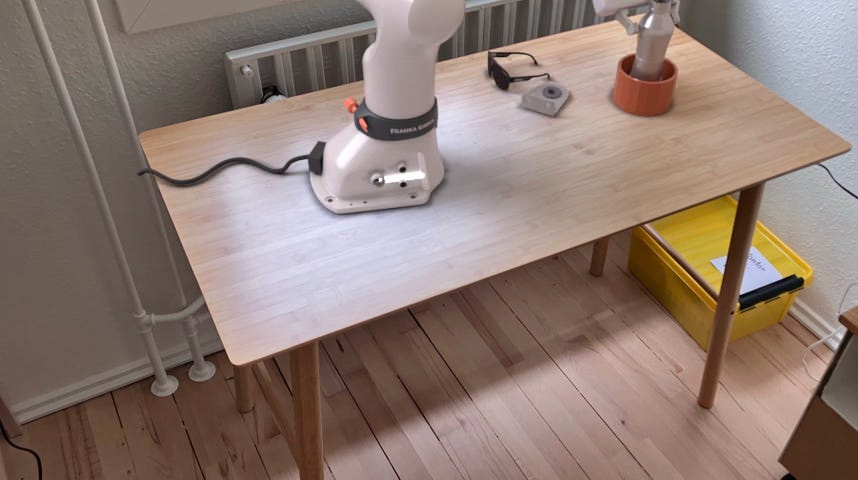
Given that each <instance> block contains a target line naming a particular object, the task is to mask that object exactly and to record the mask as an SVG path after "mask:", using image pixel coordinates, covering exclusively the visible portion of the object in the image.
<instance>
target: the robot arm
mask: <svg viewBox="0 0 858 480" xmlns="http://www.w3.org/2000/svg"><path fill="white" fill-rule="evenodd" d="M355 1H356V3H358V4H360V5H361V7H363V8H364V9H366V10H367V11H368V12H369V13H370V14H371V16H372V17H373V20H374V22H375V26H376V35H375V36H376V37H375V40H374V42H373V43H372V44H370V46H368V47H367V48H366V50H365V51H364V53H363V56H362V59H361V63H362V72H363V74H362V76H363V77H362V78H363V87H364V88H363V89H364V91H363V92H364V96H363V98H362V101H361V102H360V104H359V103H358V101H357V99H356V98H354V97H347V98H346V99H345V101H344V102H343V105H344V108H346V110H347V113H349V114H352V115H353V120H352V121H351V122H350V123H348V124H347V125H346V126H345V127H343V128H342V129H341V130H340V131H338V132H337V133H336V134H335V135H333V136H332V137H330V138H329V139H328V140H327V142H326V141H321V140H317V142H316V144H315V145H314V147H313V148H312V149H311V151H310V152H309V153H307V154H301V155H297V156H294V157H292V158H290V159H288V160H287V161H286V163H285V164H284V165H283V166H282V167H280V168H271V167H268V166H266V165H264V164H262V163H260V162H258V161H256V160H255V159H252V158H249V157H244V156H238V157H237V156H236V157H230V158H227V159H224V160H222V161H220V162H218V163H216V164H214V165H213V166H212V167H210V168H209V169H207V170H206V171H204V172H202V173H201V174H198V175H197V176H195V177H192V178H188V179H175V178H172V177H169V176H167V175H165V174H163V173H161V172H159V171H158V170H156V169H154V168H149V167H147V168H143V169H140V170H139V171H138V172H137V173H136V176H138V177H140V176H143V175H145V174H151V175H154V176H155V177H157V178H159V179H161V180H163V181H165V182H166V183H167V182H168V183H170V184H173V185H177V186H183V185H184V186H185V185H191V184H194V183H197V182H199V181H202V180H203V179H206V178H207V177H209V176H210V175H211V174H213V173H214V172H216V171H217V170H219V169H220V168H222V167H224V166H226V165H229V164H232V163H247V164H249V165H253V166H255V167H256V168H258V169H260V170H262V171H264V172H267V173H270V174H276V175H277V174H283V173H285V172H286V171H287V170H288V169H289V168H290V167H291V165H293V164H294V163H296V162H299V161H303V160H305V161H306V160H307V164H308V172H309V176H310V177H309V179H310V185H311V188H312V191H313V192H314V195H315V196H316V199H318V201H319V202H320V203H321V204H322V206H323V207H325V208H326V209H327V210H329V211H331V212H333V213H334V214H338V215H339V214H340V215H341V214H351V213H359V212H368V211H376V210H385V209H394V208H395V209H396V208H403V207H411V206H421V205H425V204H426V203H427V202H428V201H429V199H430V197H431V194H432V192H433V191H434V190H435V188H437V187H438V186H439V185H440V184H441V183H442V181H443V180H444V177H445V166H444V163H443V160H442V157H441V153H440V149H439V145H438V144H439V143H438V137H437V128H438V125H439V124H438V121H439V105H438V98H437V96H436V62H437V57H438V53H439V49H440V46H441V45H443V44H444V43H445V42H447V41H448V40H450V39H451V38H452V37H453V36H454V35H455V34H456V33H457V31H458V30H459V28H460V26H461V25H462V22H463V20H464V18H465V14H466V0H355ZM649 4H650V0H592V5H593V9H594V12H595V14H597V15H598V16H599V17H600V18H603V17H607V16H613V15H614V16H615V19H616V21H617V22H618V23H619V24H620V25H621V26H622V27H623V28H624V29H625V32H626V36H628V37H631V36H634V35H637V33H638V32H639V28H638V23H637V22H633V21H632V19H631V18H630V17H629V16H628V15H629V11H631V10H636V9H640V8H645V7H649ZM680 4H681V0H671V9H670V11H669V12H668V13H669V15H670V16H671V18H672V20H673V23H674V25H677V24H679V23H680V22H681V18H680V14H679V10H680Z"/></svg>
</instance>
